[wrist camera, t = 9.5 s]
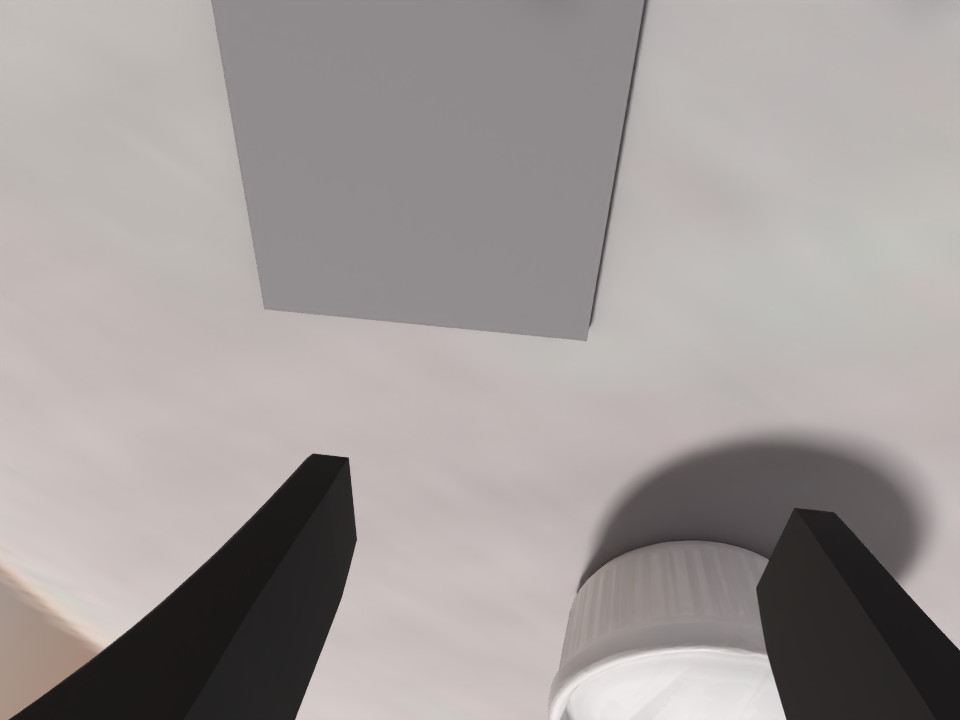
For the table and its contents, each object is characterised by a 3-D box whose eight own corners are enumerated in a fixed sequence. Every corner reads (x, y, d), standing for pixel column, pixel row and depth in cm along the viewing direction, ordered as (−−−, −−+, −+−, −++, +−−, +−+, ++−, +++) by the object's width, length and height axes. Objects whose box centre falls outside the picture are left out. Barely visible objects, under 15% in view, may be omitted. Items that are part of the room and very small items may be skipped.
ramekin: (518, 538, 25) (508, 665, 21) (822, 494, 22) (884, 632, 18) (586, 688, 31) (590, 812, 26) (836, 669, 28) (886, 806, 23)
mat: (651, -57, 14) (654, -57, 13) (585, 333, 19) (586, 341, 19) (205, -83, 14) (196, -83, 14) (269, 302, 20) (264, 309, 20)
